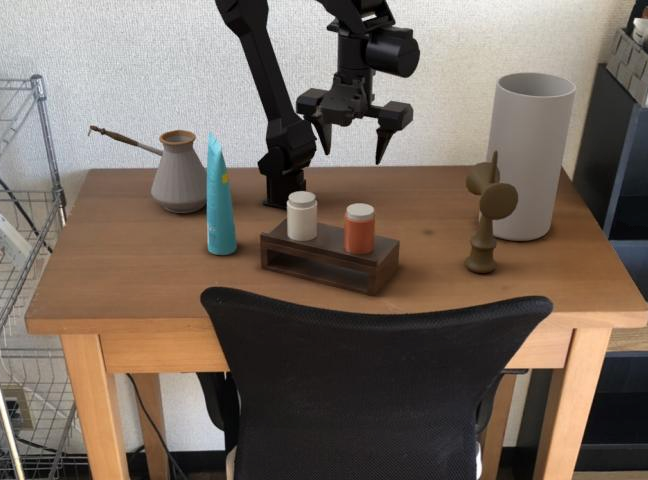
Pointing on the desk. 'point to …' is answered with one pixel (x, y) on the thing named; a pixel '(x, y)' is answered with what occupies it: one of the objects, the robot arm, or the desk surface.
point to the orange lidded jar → (359, 228)
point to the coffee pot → (174, 171)
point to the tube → (219, 202)
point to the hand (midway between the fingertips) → (352, 159)
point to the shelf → (330, 259)
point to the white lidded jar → (302, 216)
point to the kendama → (488, 211)
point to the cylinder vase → (530, 147)
